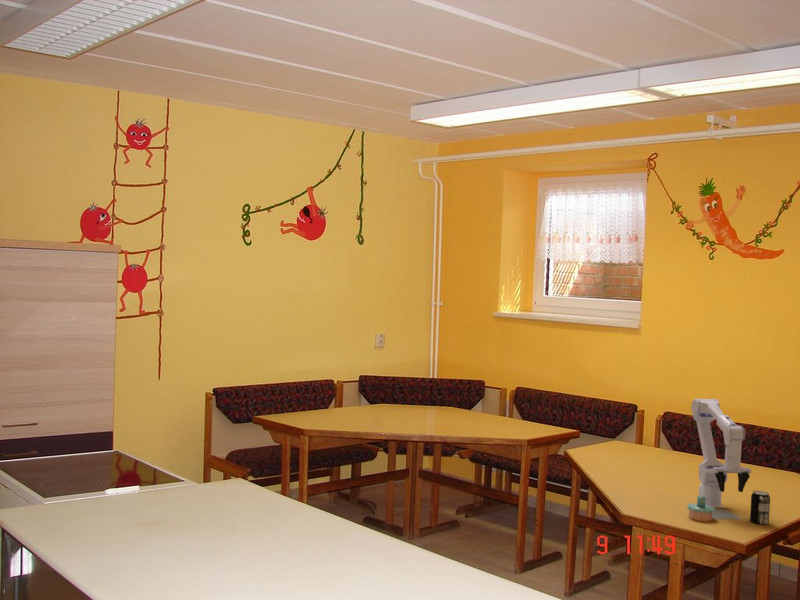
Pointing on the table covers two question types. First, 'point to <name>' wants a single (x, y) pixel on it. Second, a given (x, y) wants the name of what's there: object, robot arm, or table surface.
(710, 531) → the table surface
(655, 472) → the table surface
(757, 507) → the beverage can
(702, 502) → the lid
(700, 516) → the bowl
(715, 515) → the mat
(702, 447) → the robot arm
